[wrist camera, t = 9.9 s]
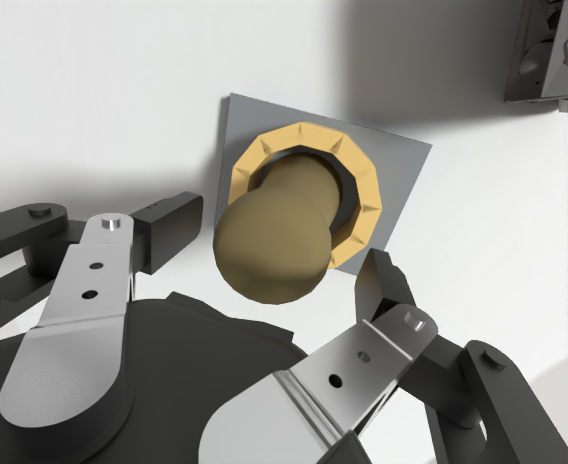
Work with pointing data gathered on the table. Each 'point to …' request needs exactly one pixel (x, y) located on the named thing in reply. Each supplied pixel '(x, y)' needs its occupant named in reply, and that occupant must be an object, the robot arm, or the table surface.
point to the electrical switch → (540, 56)
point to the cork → (280, 231)
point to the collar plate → (335, 149)
